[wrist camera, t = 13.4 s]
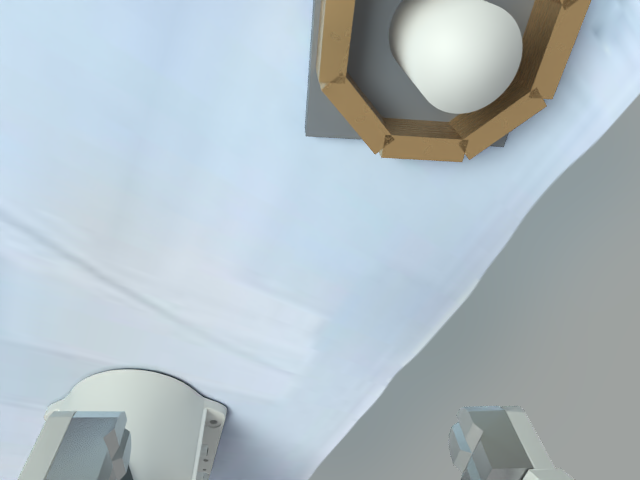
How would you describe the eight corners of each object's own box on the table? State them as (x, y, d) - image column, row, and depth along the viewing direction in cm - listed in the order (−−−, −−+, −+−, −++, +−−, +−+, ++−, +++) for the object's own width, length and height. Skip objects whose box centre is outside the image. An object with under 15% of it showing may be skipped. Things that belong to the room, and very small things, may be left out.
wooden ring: (507, 146, 31) (526, 165, 29) (310, 134, 30) (312, 153, 28) (596, -102, 23) (632, -105, 21) (332, -135, 22) (338, -142, 20)
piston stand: (495, 138, 33) (551, 196, 26) (305, 127, 31) (311, 186, 24) (573, -101, 25) (686, -110, 18) (322, -130, 23) (338, -151, 16)
